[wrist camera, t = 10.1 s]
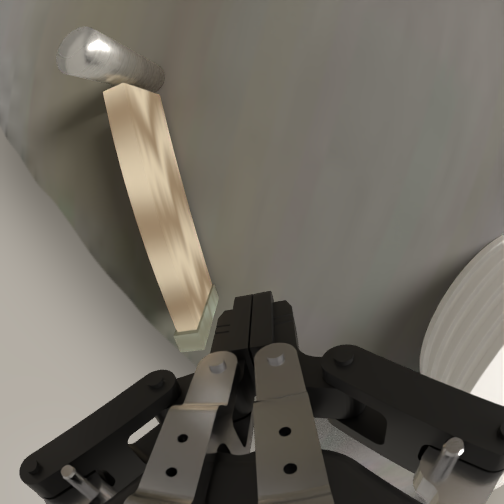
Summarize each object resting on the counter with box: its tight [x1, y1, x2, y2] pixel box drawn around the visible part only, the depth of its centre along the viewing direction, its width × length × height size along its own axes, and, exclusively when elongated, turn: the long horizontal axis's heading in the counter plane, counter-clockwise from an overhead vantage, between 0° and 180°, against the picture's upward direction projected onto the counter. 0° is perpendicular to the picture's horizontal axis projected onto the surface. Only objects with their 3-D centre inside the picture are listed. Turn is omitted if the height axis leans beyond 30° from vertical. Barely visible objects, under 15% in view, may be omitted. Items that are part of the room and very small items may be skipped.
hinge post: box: [56, 27, 165, 93], centre depth 18 cm, size 3×3×12 cm
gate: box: [103, 83, 219, 352], centre depth 23 cm, size 20×2×8 cm, turn 13°
